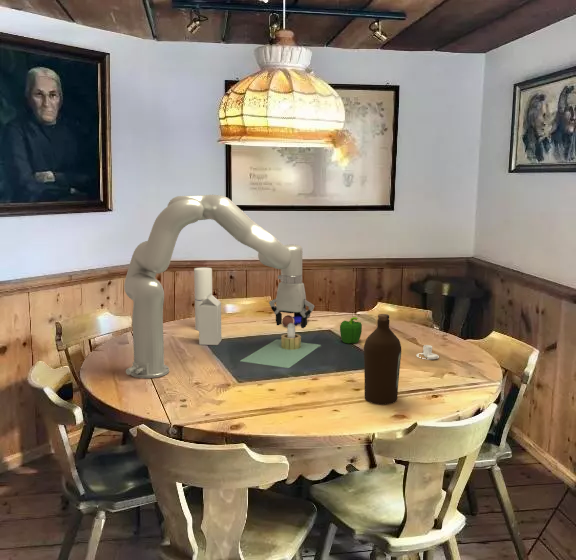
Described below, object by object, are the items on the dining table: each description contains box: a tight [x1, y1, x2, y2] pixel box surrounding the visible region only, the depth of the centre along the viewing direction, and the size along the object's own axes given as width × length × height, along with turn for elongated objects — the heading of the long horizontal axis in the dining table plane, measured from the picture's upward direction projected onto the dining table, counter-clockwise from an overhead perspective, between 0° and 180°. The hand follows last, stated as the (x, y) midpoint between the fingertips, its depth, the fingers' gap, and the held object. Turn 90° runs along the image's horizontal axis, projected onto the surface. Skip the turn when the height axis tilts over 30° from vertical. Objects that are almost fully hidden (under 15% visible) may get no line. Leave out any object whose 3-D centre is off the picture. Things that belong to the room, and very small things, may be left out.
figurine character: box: [281, 307, 311, 328], centre depth 271 cm, size 7×8×15 cm
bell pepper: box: [339, 316, 363, 344], centre depth 244 cm, size 8×8×10 cm
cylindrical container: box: [193, 267, 213, 332], centre depth 261 cm, size 7×7×25 cm
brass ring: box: [280, 333, 302, 350], centre depth 232 cm, size 7×7×4 cm
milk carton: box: [198, 291, 222, 346], centre depth 241 cm, size 7×7×19 cm
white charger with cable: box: [416, 344, 440, 360], centre depth 227 cm, size 9×8×4 cm
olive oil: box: [363, 313, 402, 405], centre depth 183 cm, size 11×11×25 cm
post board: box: [240, 323, 322, 369], centre depth 225 cm, size 30×18×10 cm, turn 157°
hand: (291, 326), depth 231 cm, fingers open, 9 cm apart
